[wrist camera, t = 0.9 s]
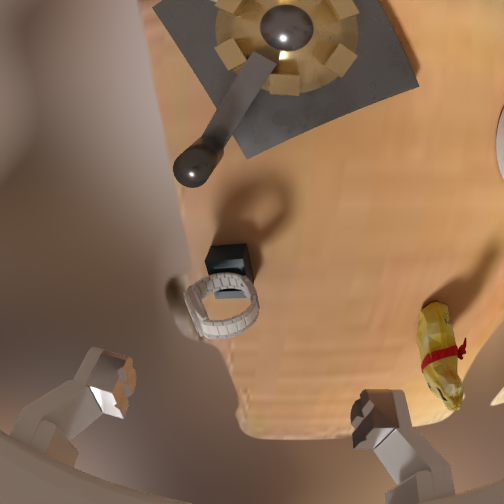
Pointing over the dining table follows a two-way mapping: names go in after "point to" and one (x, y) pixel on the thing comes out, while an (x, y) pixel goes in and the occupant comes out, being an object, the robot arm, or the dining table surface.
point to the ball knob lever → (270, 63)
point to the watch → (224, 291)
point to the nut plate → (307, 103)
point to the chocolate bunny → (440, 354)
